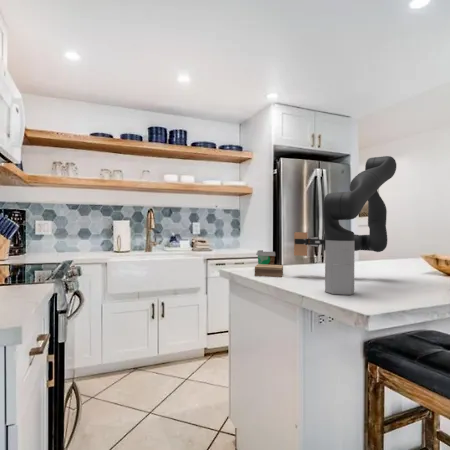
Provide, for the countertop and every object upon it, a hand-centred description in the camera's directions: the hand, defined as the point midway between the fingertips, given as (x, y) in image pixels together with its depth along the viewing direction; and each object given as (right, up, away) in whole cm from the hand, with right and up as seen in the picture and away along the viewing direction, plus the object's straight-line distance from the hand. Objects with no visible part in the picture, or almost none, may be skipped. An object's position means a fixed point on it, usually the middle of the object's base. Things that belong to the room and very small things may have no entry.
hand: (294, 241), depth 145 cm
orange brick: (+2, -6, -1) cm, 7 cm away
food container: (-12, -16, +20) cm, 28 cm away
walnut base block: (-10, -16, +6) cm, 20 cm away
